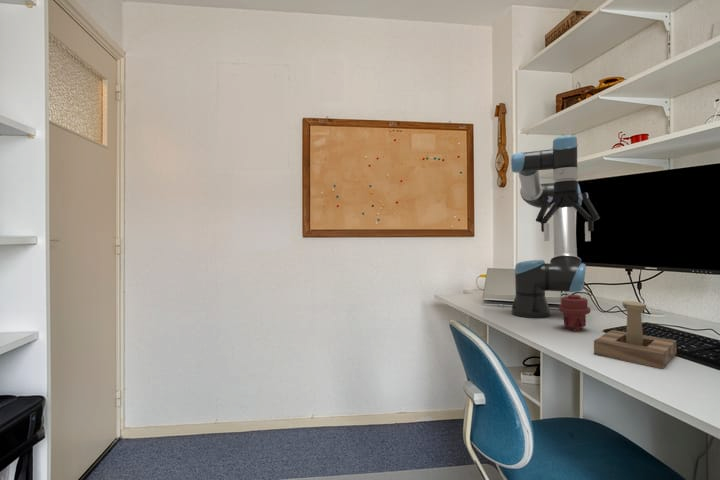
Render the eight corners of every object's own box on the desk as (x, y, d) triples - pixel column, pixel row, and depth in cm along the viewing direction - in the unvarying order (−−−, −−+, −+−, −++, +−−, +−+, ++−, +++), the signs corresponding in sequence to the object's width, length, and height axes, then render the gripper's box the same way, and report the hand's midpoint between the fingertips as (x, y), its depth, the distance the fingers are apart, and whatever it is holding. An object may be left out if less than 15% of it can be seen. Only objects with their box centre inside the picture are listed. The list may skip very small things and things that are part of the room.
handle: (632, 357, 104) (632, 305, 103) (619, 350, 110) (618, 301, 110) (651, 358, 103) (650, 305, 103) (636, 350, 110) (635, 301, 109)
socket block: (611, 342, 118) (611, 329, 118) (676, 354, 106) (676, 340, 106) (594, 354, 108) (593, 340, 108) (662, 368, 96) (662, 353, 95)
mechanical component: (584, 325, 138) (595, 333, 128) (555, 325, 140) (564, 332, 130) (583, 293, 138) (595, 298, 128) (554, 293, 140) (563, 298, 130)
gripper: (525, 184, 136) (526, 241, 137) (602, 175, 117) (603, 241, 117) (534, 185, 141) (535, 240, 141) (610, 177, 121) (611, 240, 122)
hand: (566, 241), depth 129 cm, fingers open, 13 cm apart
